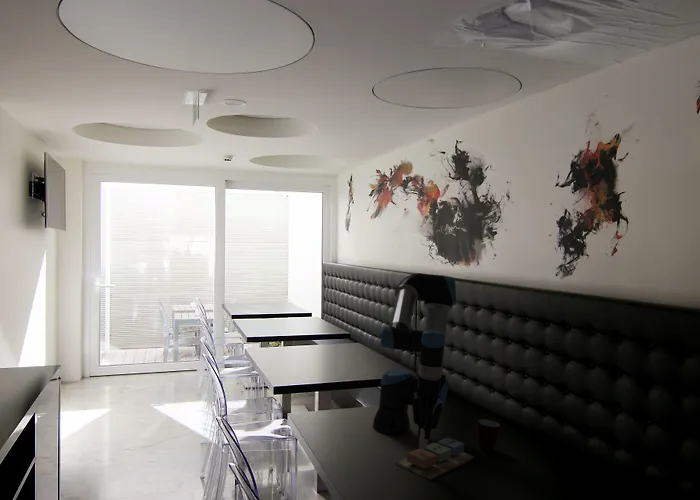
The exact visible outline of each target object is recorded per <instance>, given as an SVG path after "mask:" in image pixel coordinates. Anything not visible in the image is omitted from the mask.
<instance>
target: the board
mask: <svg viewBox="0 0 700 500" xmlns="http://www.w3.org/2000/svg"><path fill="white" fill-rule="evenodd" d="M474 459H475V456H474V455H471V454H470V453H466V452H465V451H463V452H461V453H459V454H457V455H454V456H453V455H451V457H450V458H448V459H446V460H443V461H441V462H438V461H436V464H434V465H432V466H430V467H428V468H426V469H423V468H421V467H419V466H416V465H414V464H412V463H409V462H407V456H406V457H404V458H401V459H399V460H396V461H395V465H397V466H399V467H400V468H402V469H403V468H404V469H405V470H408V471H410V472H411V473H414V474H417V475H419V476H421V477H423V478H425V479H428V480H429V481H431V480H434V479H435V478H438V477H440V476H441V475H443V474H445V473H448V472H450V471H452V470H453V469H456V468H457V467H460V466H462V465H464V464H466V463H468V462H471V461H472V460H474Z"/></svg>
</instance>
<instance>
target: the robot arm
mask: <svg viewBox="0 0 700 500" xmlns="http://www.w3.org/2000/svg"><path fill="white" fill-rule="evenodd" d="M394 291H395V292H394V297H395V302H394V305H393V309H392V313H391V318H390V322H389V326H383V327H382V329H381V333H380V346H381V347H382V348H386V349H390V350H400V351H407V352H408V351H409V352H415V353H420V355H419V363H418V364H419V365H418V370H417V371H416V375H412V372H411V371H410V370H406V369H398V368H397V369H390V370H386V371H384V372H383V374H382V376H381V381H380V394H379V403H378V409H377V412H376V414H375V416H374V419H373V420H372V421H373V422H372V428H373V429H374V430H376V431H377V432H378V433H379V432H380V433H381V434H385V435H389V436H390V435H391V436H404V435H408V434H410V432H411V427H412V425H411V421H410V416H409V406H412V413H413V414H412V415H413V423H414V424H415V425H417V427H418V433H417V435H418V437H419V441H418V442H419V443H418V449H419V448H420V449H424V448H427V445H428V441H429V440H430V438H431V432H432V430H435V429H436V428H437V427H438V424H439V421H440V418H441V414H442V411H443V409H444V408H445V407H446V400H447V395H448V390H449V385H450V380H449V379H447V375H446V373H445V372H444V370H443V369H444V359H445V349H446V337H447V326H448V315H449V312H450V311H451V310H452V309H453V306H454V305H457V289H456V280H455V278H454V277H452V276H448V275H447V276H446V275H441V274H431V273H430V274H429V273H428V274H427V273H422V272H421V273H420V272H419V273H412V274H410V275H408V276H406V277H404V278H403V279H402V280H400V282H399V283H398V284H397V286H396V287H395V290H394ZM417 301H419V302H423V306H424V308H425V309H426V318H425V327H424V330H419V329H418V330H417V329H416V330H415V329H411V324H412V318H413V312H414V307H415V303H416V302H417Z"/></svg>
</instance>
